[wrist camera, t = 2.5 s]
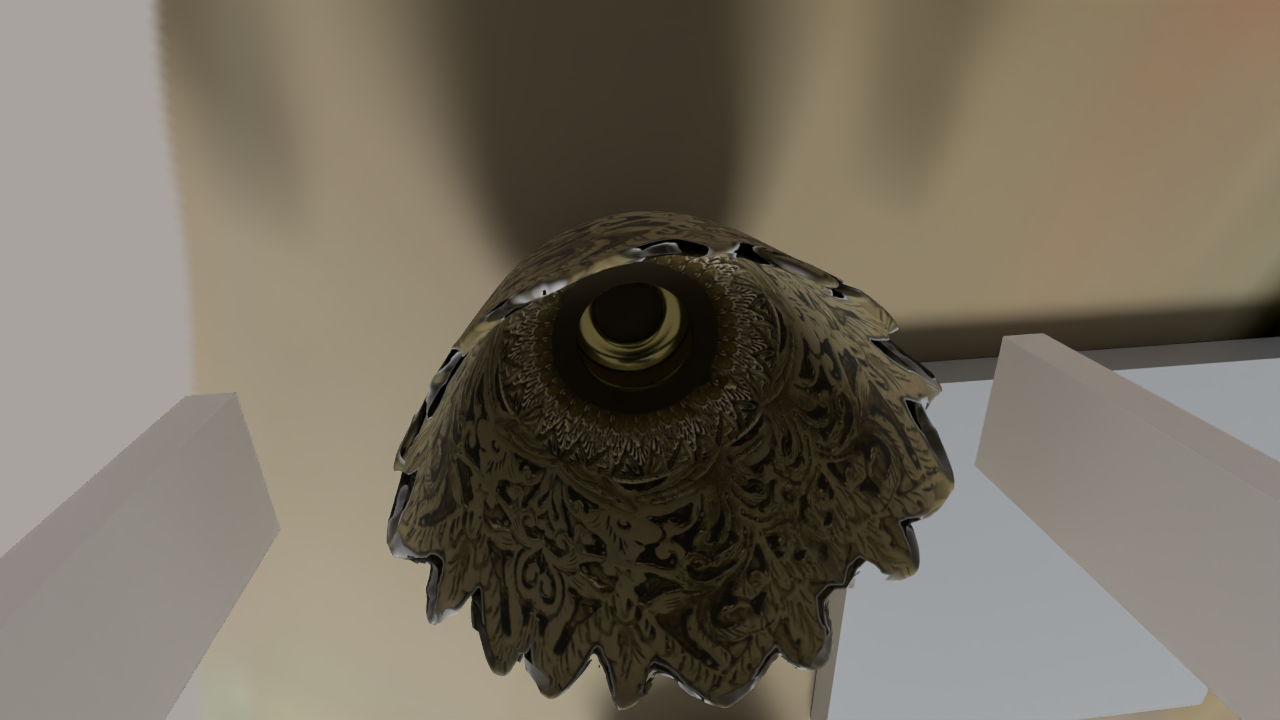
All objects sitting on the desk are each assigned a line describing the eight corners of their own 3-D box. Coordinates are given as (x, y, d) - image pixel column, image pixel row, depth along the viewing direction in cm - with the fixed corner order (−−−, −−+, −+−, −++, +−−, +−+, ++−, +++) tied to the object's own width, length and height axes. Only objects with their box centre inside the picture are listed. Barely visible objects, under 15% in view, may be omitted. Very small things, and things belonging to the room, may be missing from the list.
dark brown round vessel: (592, 76, 13) (624, 101, 6) (838, 272, 16) (1068, 455, 9) (413, 348, 15) (281, 603, 8) (655, 483, 18) (716, 771, 11)
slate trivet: (857, 367, 17) (877, 388, 16) (1336, 332, 18) (1385, 350, 17) (810, 718, 23) (822, 751, 22) (1172, 675, 24) (1200, 704, 23)
